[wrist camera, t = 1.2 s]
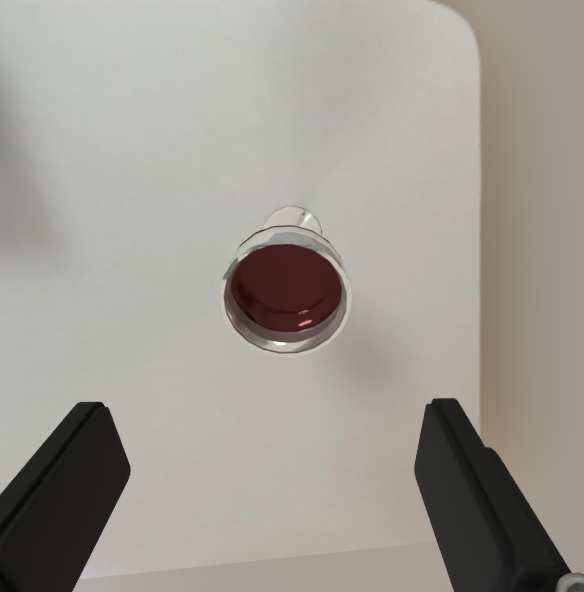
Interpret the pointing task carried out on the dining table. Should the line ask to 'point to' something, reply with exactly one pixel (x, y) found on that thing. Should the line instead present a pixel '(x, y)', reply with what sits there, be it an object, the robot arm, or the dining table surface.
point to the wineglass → (286, 287)
